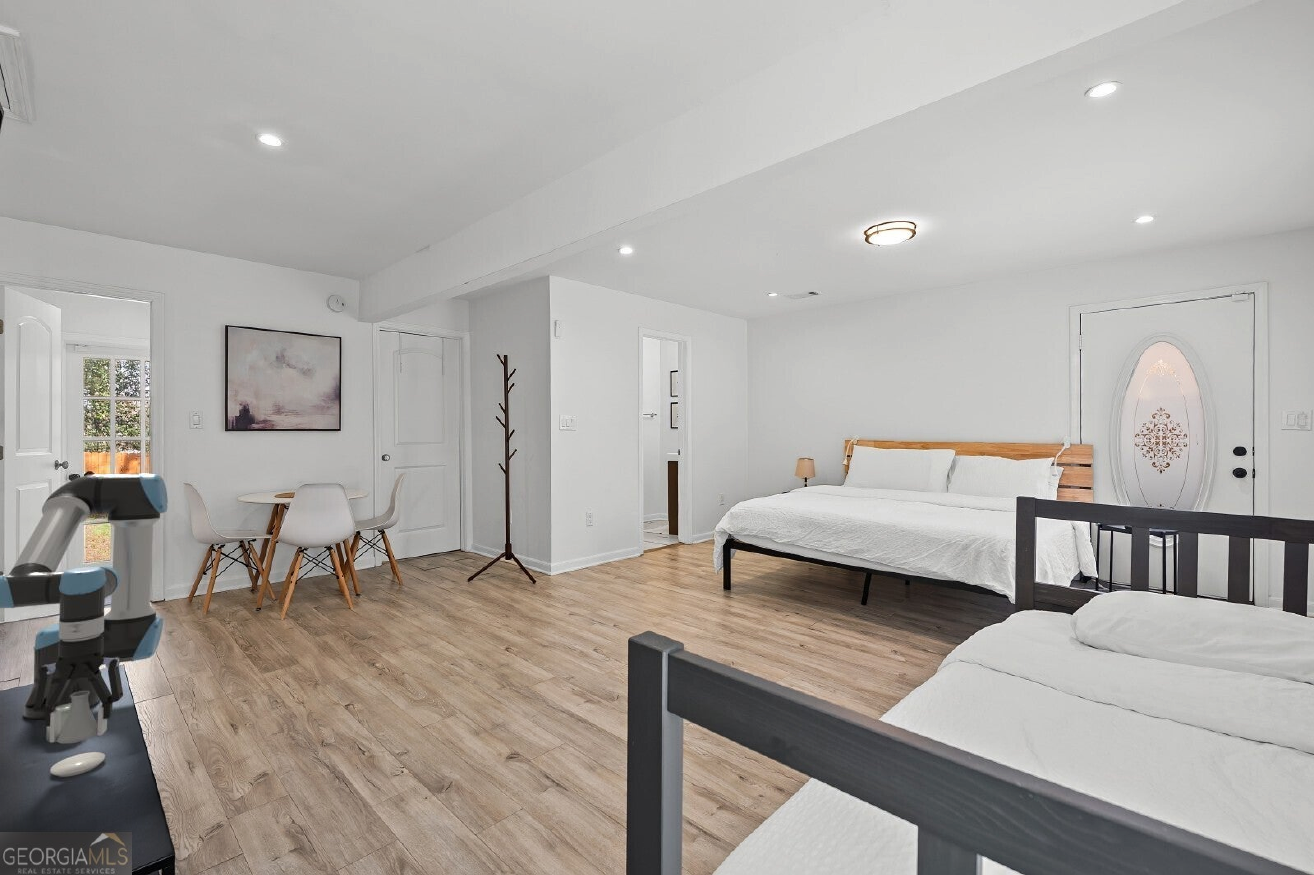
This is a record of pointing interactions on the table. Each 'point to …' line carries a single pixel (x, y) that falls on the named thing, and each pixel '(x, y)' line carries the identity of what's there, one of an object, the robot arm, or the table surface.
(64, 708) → the white cylindrical tub
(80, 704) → the flask
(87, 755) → the dish
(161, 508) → the robot arm
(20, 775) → the table surface
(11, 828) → the table surface
